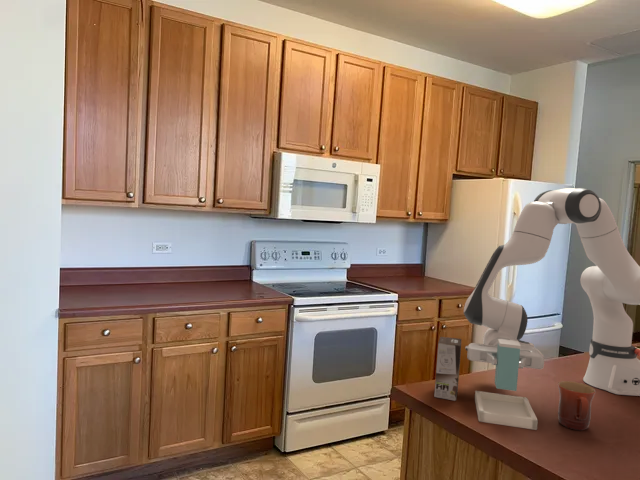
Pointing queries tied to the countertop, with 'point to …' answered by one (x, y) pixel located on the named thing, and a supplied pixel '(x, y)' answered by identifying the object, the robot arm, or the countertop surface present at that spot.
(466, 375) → the countertop surface
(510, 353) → the tea tin
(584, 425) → the mug
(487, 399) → the tray
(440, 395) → the coffee box
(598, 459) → the countertop surface
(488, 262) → the robot arm
